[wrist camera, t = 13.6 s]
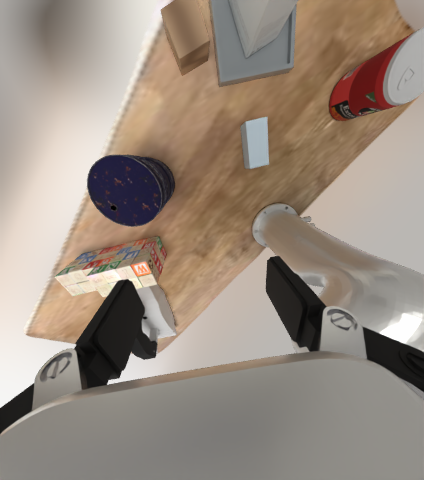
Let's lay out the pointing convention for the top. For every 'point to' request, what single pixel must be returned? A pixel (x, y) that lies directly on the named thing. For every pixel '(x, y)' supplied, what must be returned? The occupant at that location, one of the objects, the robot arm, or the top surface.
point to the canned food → (382, 80)
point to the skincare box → (259, 21)
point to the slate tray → (232, 54)
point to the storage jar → (130, 188)
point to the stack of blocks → (115, 267)
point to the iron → (153, 322)
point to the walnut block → (186, 33)
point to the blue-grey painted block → (255, 143)
